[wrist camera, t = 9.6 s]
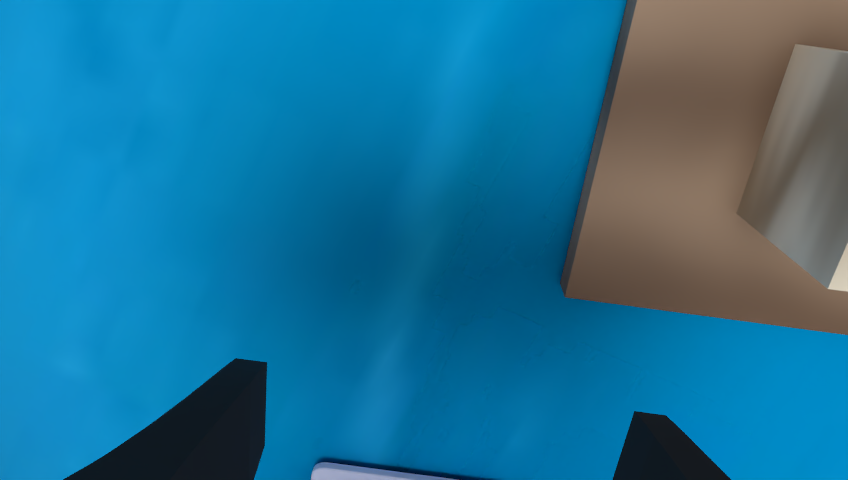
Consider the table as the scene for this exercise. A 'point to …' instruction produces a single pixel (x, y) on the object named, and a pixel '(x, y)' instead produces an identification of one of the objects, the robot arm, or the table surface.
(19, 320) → the table surface
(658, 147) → the walnut board
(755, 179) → the ash cube
